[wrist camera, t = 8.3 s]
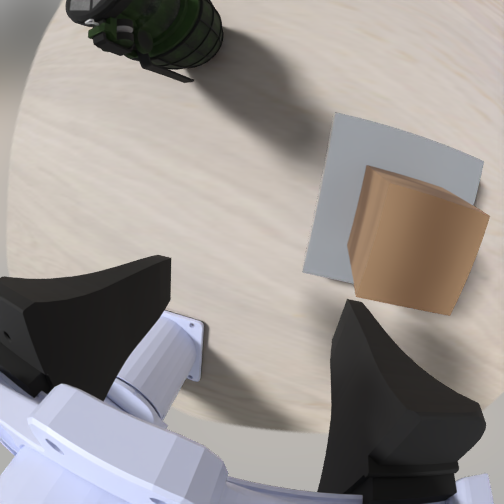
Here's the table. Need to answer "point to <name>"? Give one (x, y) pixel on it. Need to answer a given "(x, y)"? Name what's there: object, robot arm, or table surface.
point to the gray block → (352, 174)
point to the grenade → (153, 31)
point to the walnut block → (412, 242)
